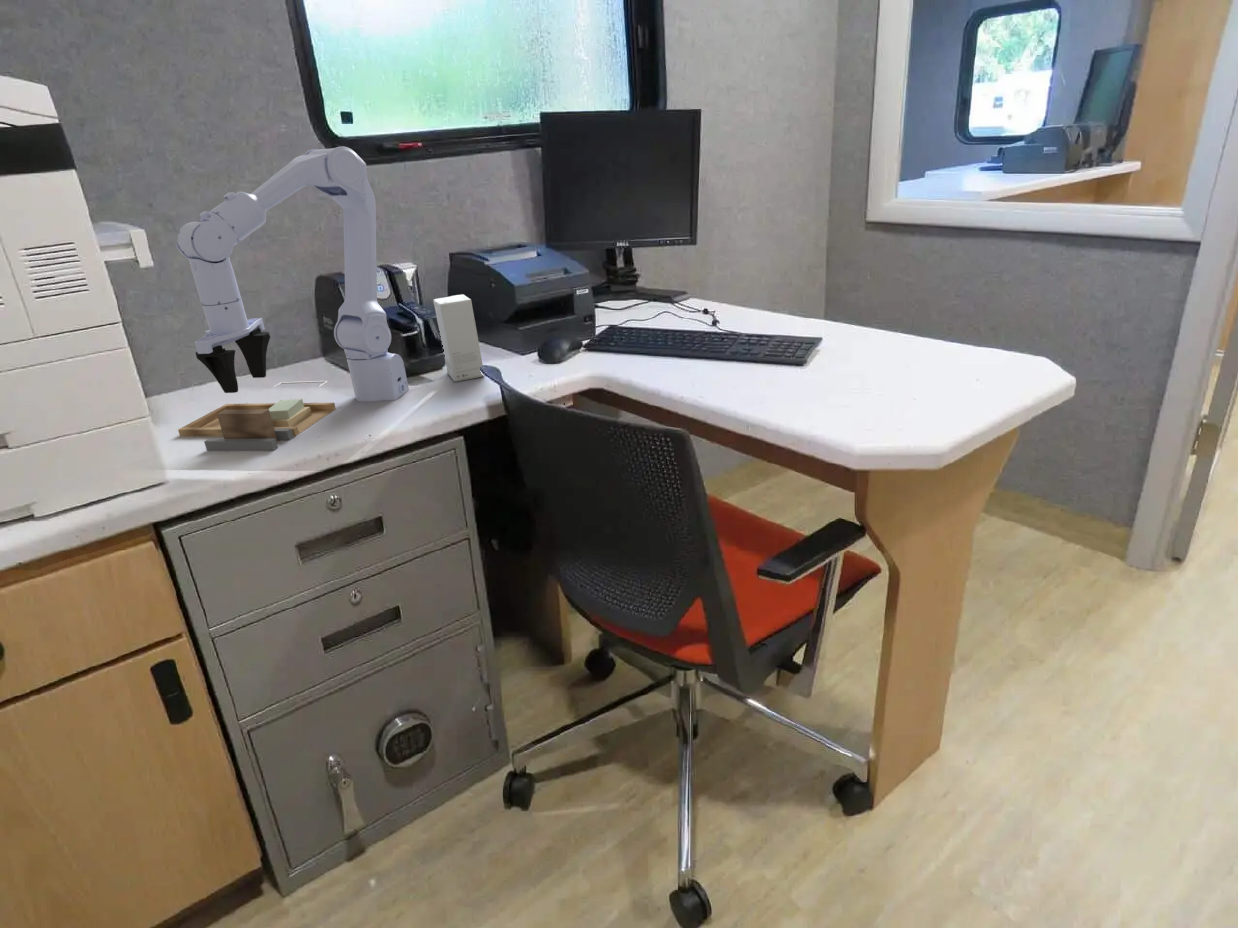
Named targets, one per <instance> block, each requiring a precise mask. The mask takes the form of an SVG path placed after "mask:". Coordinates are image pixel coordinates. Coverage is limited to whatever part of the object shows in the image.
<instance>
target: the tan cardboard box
mask: <svg viewBox="0 0 1238 928" xmlns="http://www.w3.org/2000/svg"><path fill="white" fill-rule="evenodd" d="M217 416H218V420H219V423H220V426H221V430H222V433H223V436H224V437H223V436H222V437H223V439H266V438H275V439H276V443H277V444H278V442H279V440H277V437H276V433H275V430H274V426H273V422H272V419H271V415H270V412H269V409H246V410H223V411H221V412H220V413H218V414H217Z"/></svg>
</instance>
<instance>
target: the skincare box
mask: <svg viewBox="0 0 1238 928" xmlns="http://www.w3.org/2000/svg"><path fill="white" fill-rule="evenodd" d="M432 300H433V301H432V302H433V307H434V311H435V316H436V322H437V327H438V330H439V331H440V332H439V336H441V337H440V341H442V342H441V346H442V345H443V347H442V350H443V349H444V352H443V356H444V355H445V357H444V361H445V366H446V371H447V374H448V376H450V378H451V379H452V380H453V382H462V381H466V380H467V381H468V380H472V379H476V378H477V379H478V378H482V377H484V376H483V375H482V374H481V372H480V367H481V366H483V367H484V365H483V359H482V355H481V348H480V347H481V346H480V343H479V342H480V341H479V337H478V330H477V326H476V320H475V313H474V309H473V303H472V299H471V298H469V297H468V296H466V295H465V294H463V293H462V294H456V295H455V294H454V295H450V296H446V297H438V298H435V299H432Z"/></svg>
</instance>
